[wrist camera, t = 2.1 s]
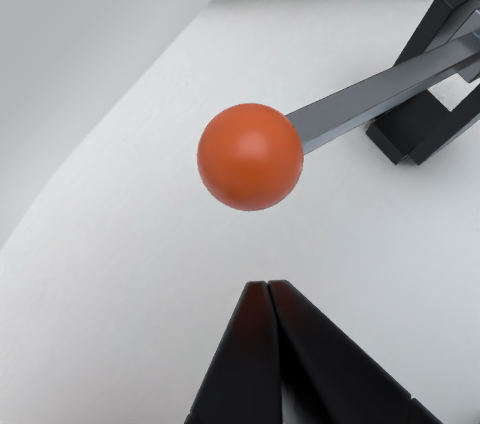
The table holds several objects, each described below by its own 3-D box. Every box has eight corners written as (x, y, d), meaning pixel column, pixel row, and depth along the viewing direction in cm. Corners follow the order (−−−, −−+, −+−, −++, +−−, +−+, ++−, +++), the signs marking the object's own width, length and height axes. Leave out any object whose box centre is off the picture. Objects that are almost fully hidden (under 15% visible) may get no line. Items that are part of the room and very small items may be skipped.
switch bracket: (411, 182, 24) (531, 85, 14) (350, 117, 25) (423, -10, 16) (462, 143, 25) (604, 29, 15) (401, 83, 26) (498, -55, 17)
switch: (227, 245, 10) (258, 194, 8) (170, 169, 11) (183, 99, 9) (494, 79, 19) (551, 28, 16) (452, 41, 20) (500, -14, 17)
